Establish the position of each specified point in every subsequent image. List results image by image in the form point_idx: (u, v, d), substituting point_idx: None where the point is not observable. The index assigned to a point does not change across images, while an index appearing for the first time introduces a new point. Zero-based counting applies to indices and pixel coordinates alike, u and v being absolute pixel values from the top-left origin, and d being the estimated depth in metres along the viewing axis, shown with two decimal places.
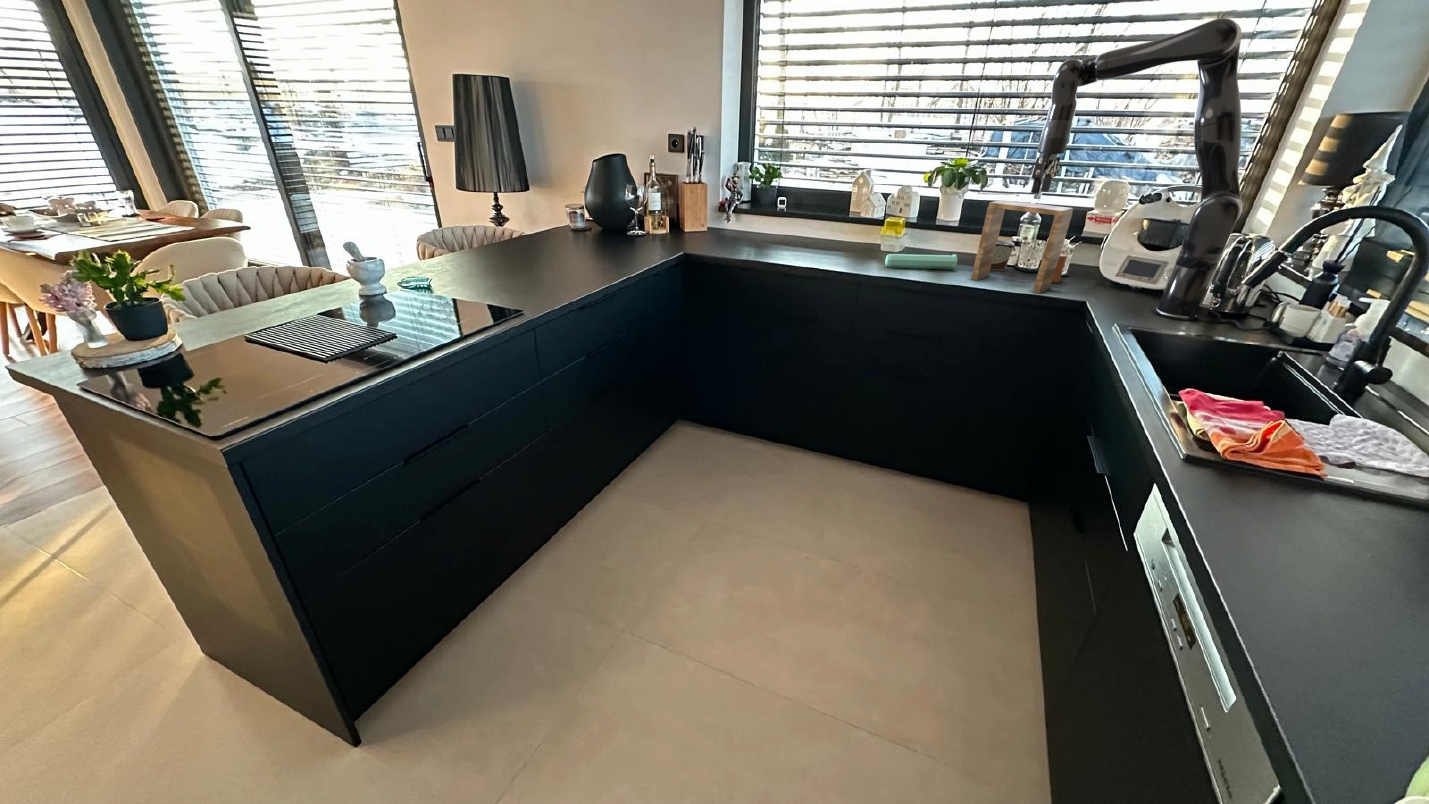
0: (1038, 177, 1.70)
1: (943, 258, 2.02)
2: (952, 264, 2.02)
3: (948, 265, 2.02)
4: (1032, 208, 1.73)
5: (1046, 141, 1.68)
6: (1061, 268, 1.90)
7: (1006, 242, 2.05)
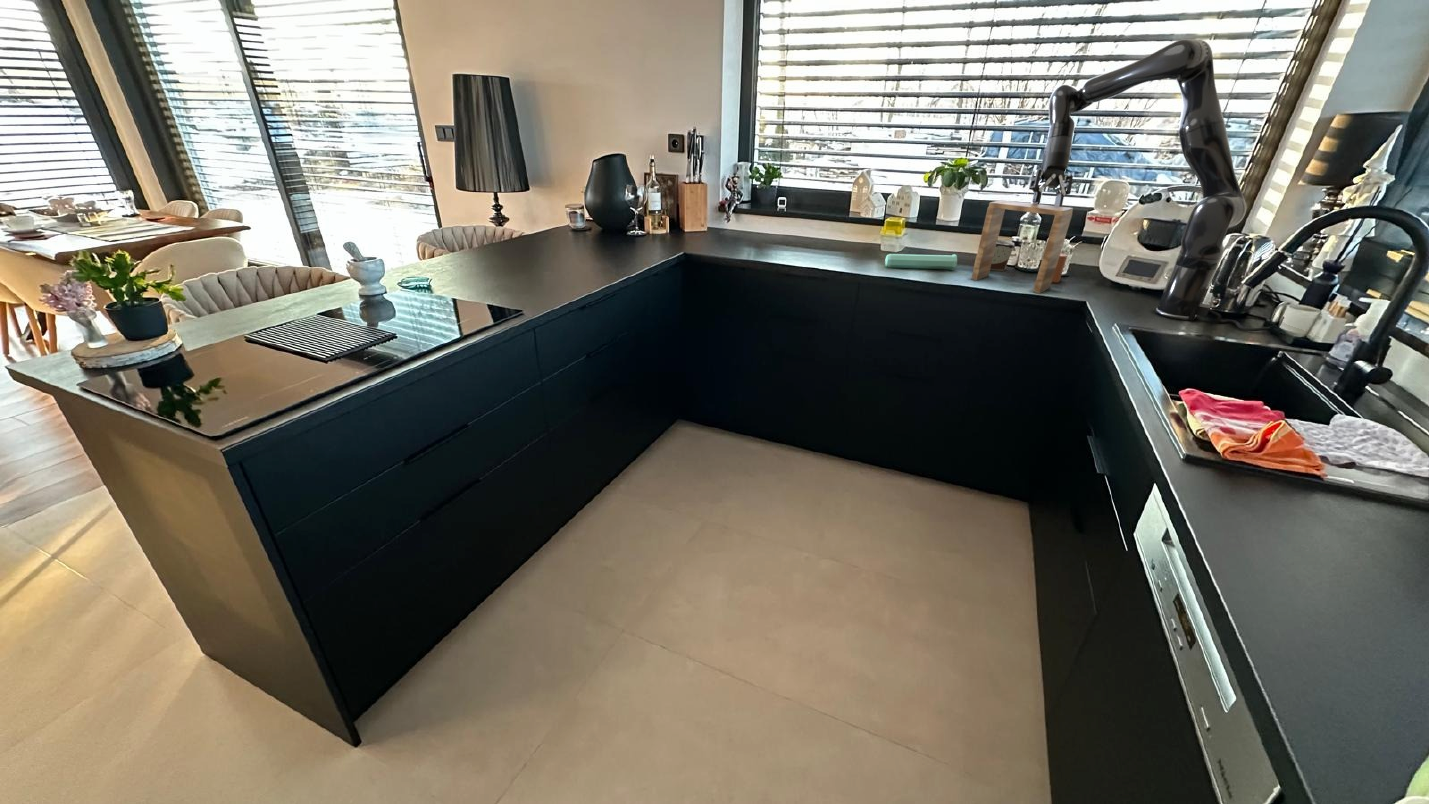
0: (1033, 187, 1.79)
1: (943, 258, 2.02)
2: (952, 264, 2.02)
3: (948, 265, 2.02)
4: (1032, 208, 1.73)
5: (1044, 157, 1.80)
6: (1061, 268, 1.90)
7: (1006, 242, 2.05)
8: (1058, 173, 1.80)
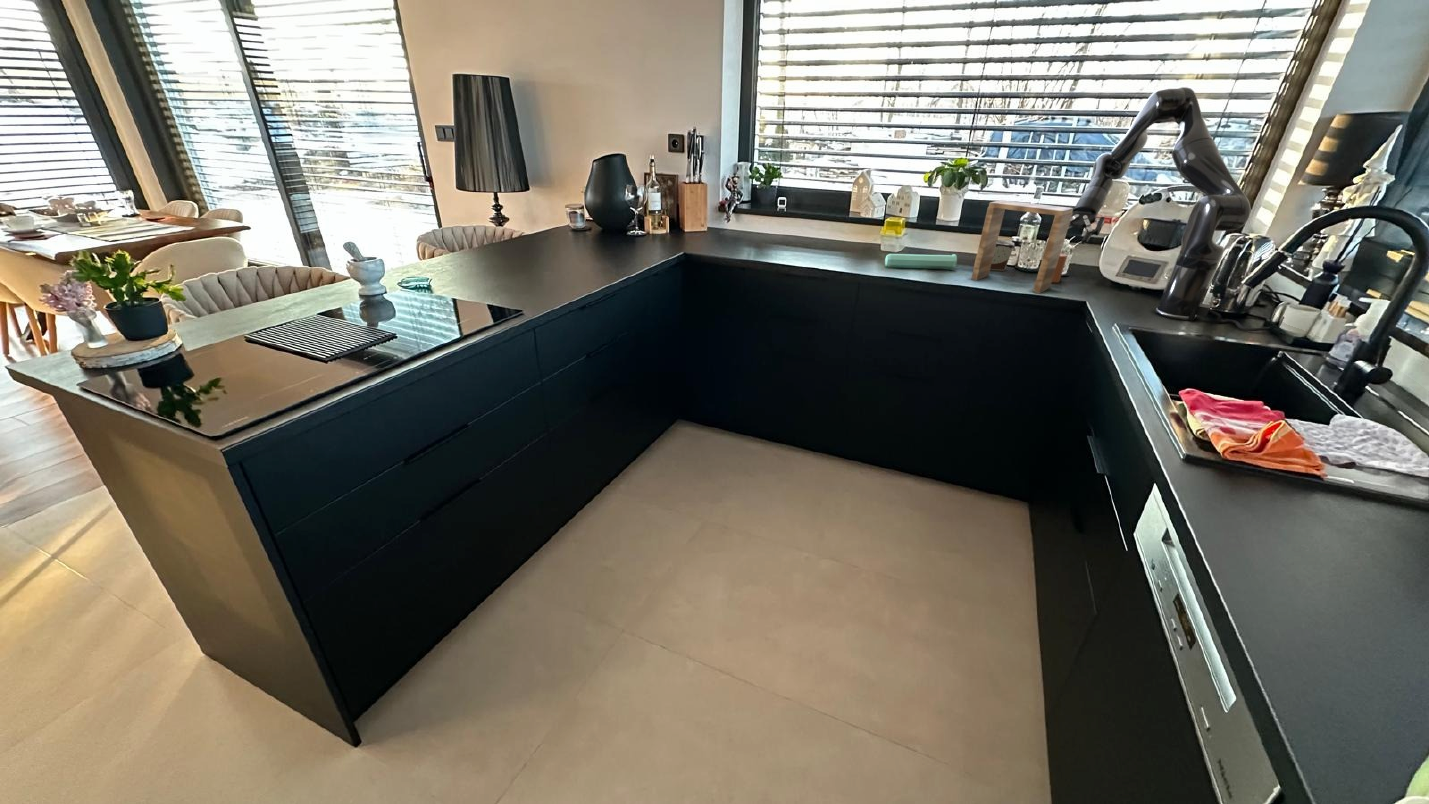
0: None
1: (943, 258, 2.02)
2: (952, 264, 2.02)
3: (948, 265, 2.03)
4: (1032, 208, 1.73)
5: None
6: (1061, 268, 1.90)
7: (1006, 242, 2.05)
8: None
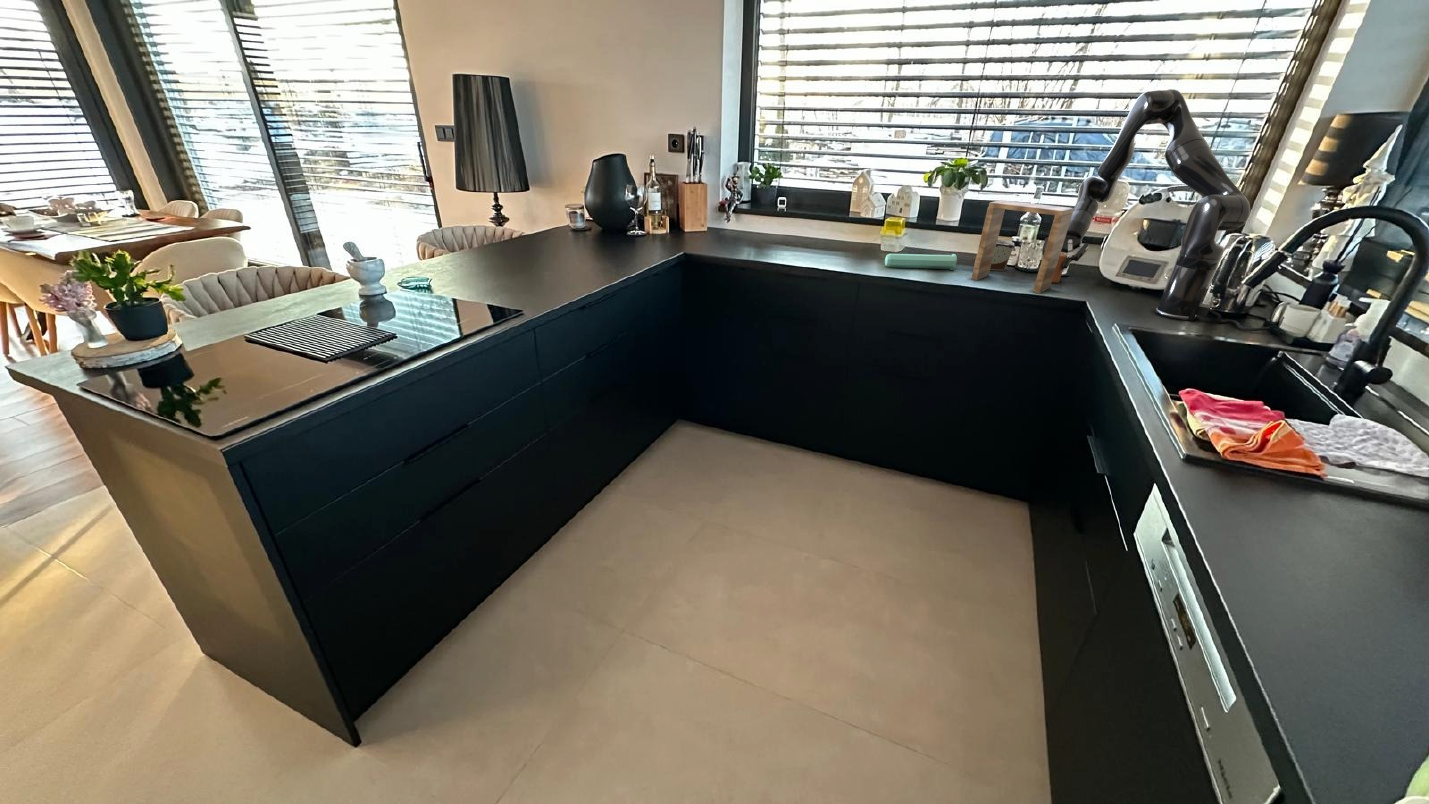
0: (1042, 251, 1.94)
1: (943, 258, 2.03)
2: (952, 264, 2.02)
3: (948, 265, 2.03)
4: (1032, 208, 1.73)
5: None
6: (1061, 268, 1.90)
7: (1006, 242, 2.05)
8: (1071, 239, 1.91)
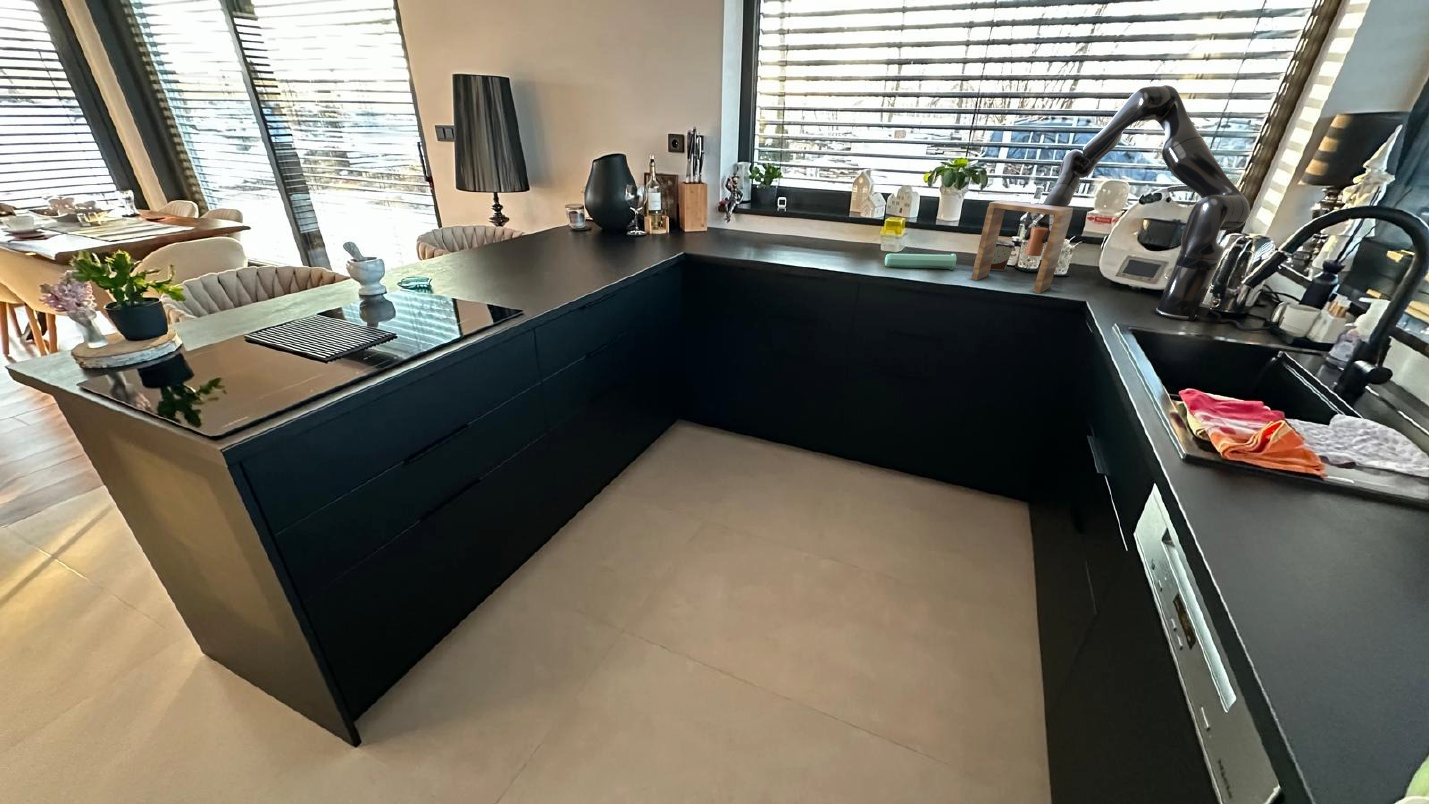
0: (1024, 225, 1.96)
1: (942, 257, 2.03)
2: (951, 263, 2.03)
3: (947, 264, 2.03)
4: (1032, 208, 1.73)
5: None
6: None
7: (1006, 242, 2.05)
8: None
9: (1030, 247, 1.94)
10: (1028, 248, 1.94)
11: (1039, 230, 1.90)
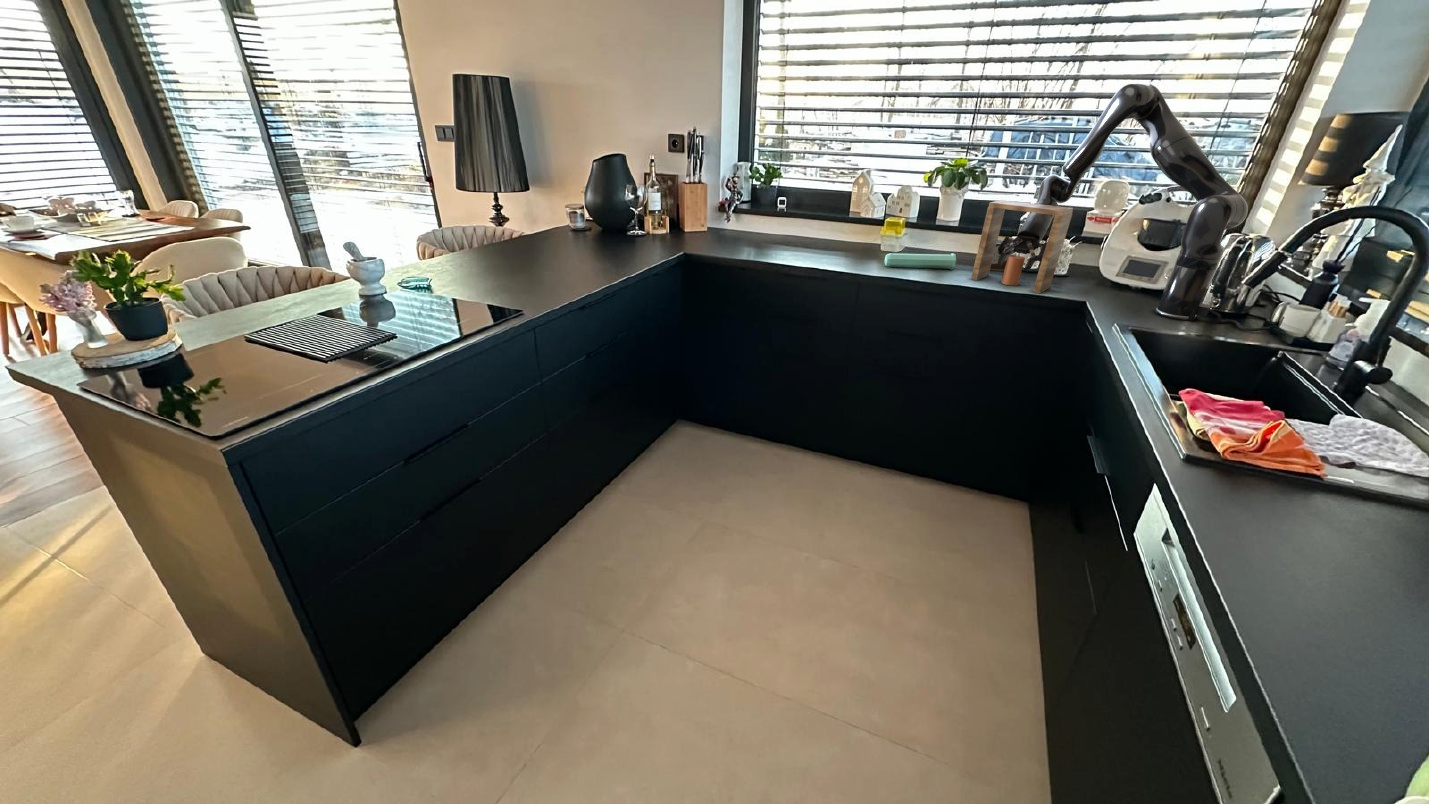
0: (998, 249, 1.90)
1: (942, 257, 2.03)
2: (951, 263, 2.03)
3: (947, 264, 2.04)
4: (1032, 208, 1.73)
5: None
6: (1019, 270, 1.85)
7: None
8: (1029, 240, 1.86)
9: (1006, 276, 1.87)
10: (1004, 277, 1.88)
11: (1015, 259, 1.84)
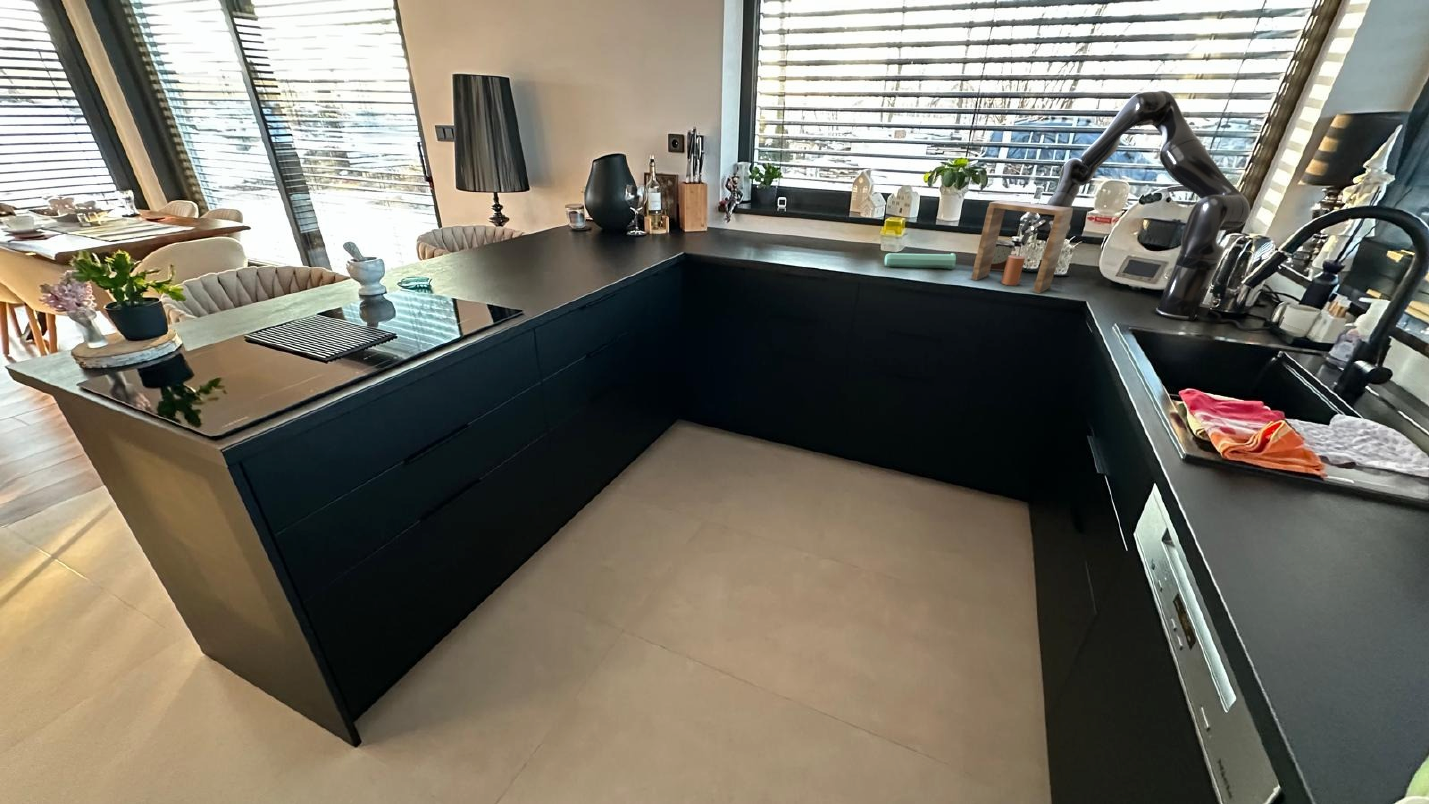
0: (1021, 230, 1.98)
1: (942, 257, 2.04)
2: (951, 263, 2.04)
3: (947, 264, 2.04)
4: (1032, 208, 1.73)
5: None
6: (1019, 270, 1.85)
7: (1006, 242, 2.05)
8: (1052, 221, 1.93)
9: (1006, 276, 1.87)
10: (1004, 277, 1.88)
11: (1015, 259, 1.84)
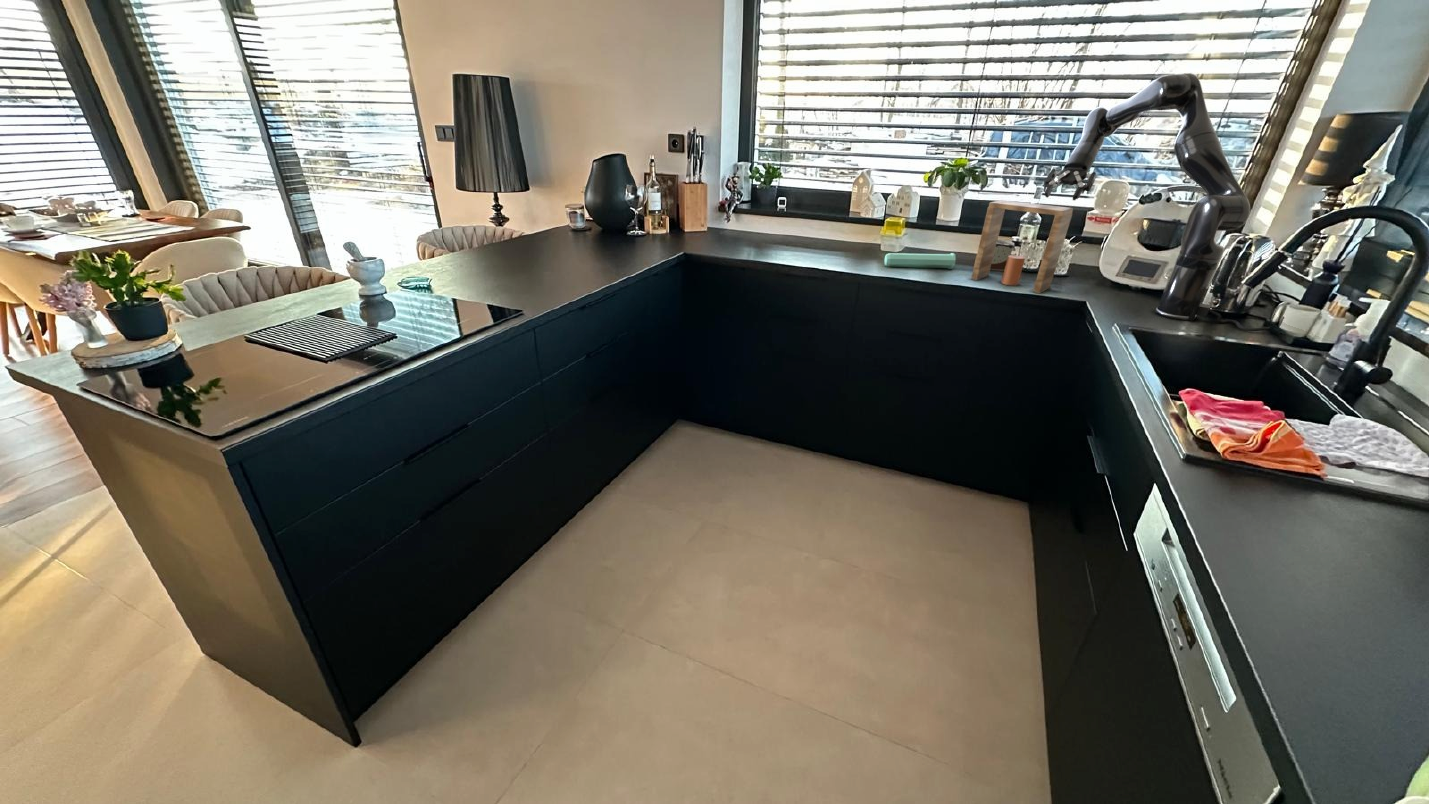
0: (1044, 182, 1.93)
1: (942, 257, 2.04)
2: (950, 263, 2.04)
3: (947, 264, 2.04)
4: (1032, 208, 1.73)
5: None
6: (1019, 270, 1.85)
7: (1006, 242, 2.05)
8: None
9: (1006, 276, 1.87)
10: (1004, 277, 1.88)
11: (1015, 259, 1.84)
